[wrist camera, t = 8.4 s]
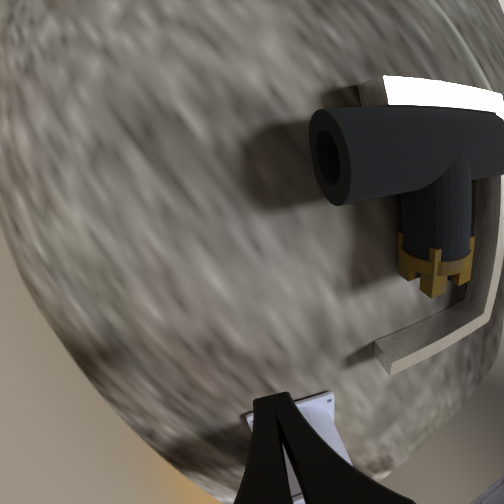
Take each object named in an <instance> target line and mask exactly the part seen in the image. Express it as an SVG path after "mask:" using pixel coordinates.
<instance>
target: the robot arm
mask: <svg viewBox="0 0 504 504" xmlns="http://www.w3.org/2000/svg"><path fill="white" fill-rule="evenodd" d="M246 420H247V422H248V425H249V427H250V429H251V432H252V437H251V444H250V450H249V455H248V459H247V464H246V468H245V472H244V475H243V479H242V482H241V485H240V488H239V491H238V493H237V496H236V498H235V501H234V504H416V503H415V502H414V501H413V500H411V499H409V498H407V497H404V496H402V495H400V494H398V493H396V492H394V491H392V490H390V489H388V488H386V487H384V486H382V485H381V484H379V483H377V482H376V481H374V480H372V479H371V478H369V477H368V476H366V475H365V474H363V473H362V472H360V471H359V470H357V469H356V468H355V467H353V465H352V463H351V461H350V458H349V456H348V454H347V452H346V449H345V447H344V445H343V443H342V440H341V438H340V436H339V434H338V431H337V429H336V427H335V425H334V394H333V392H326V393H323V394H320V395H317V396H313V397H310V398H307V399H304V400H300V401H297V402H294V401H293V399H292V398H291V396H290V393H289V392H282V393H278V394H274V395H270V396H266V397H261V398H257V399H254V400H253V413H250V414H248V415H247V416H246ZM470 504H504V475H502V476H501V477H500V478H499V479H498V480H497V481H496V482H495V483H494V484H492V486H490V487H489V488H488V489H487V490H486V491H485V492H484V493H483V494H481V495H480V496H479V497H478V498H476V499H475V500H474V501H473V502H471V503H470Z"/></svg>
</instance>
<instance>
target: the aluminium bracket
mask: <svg viewBox="0 0 504 504" xmlns="http://www.w3.org/2000/svg"><path fill="white" fill-rule="evenodd" d="M357 87H358V92H359V97H360V102H361V107H364V106H423V107H441V108H454V109H464V110H473V111H481V112H488V113H494V114H496V115H498V116H499V117H501V118H502V119H503V120H504V104H503V98H502V94H499V93H495V92H491V91H487V90H483V89H478V88H474V87H469V86H464V85H458V84H453V83H447V82H440V81H433V80H425V79H416V78H405V77H392V76H382V77H379V78H376V79H373V80H370V81H367V82H364V83H361V84H358V85H357ZM474 236H475V240H474V252H473V261H472V269H471V276H470V280H469V281H468V283H467V289H466V295H465V299H464V300H462V301H461V302H459V303H457V304H455V305H453V306H451V307H449V308H447V309H445V310H443V311H441V312H439V313H437V314H435V315H433V316H431V317H429V318H426V319H424V320H422V321H420V322H418V323H416V324H413V325H411V326H409V327H407V328H404V329H402V330H400V331H397V332H395V333H393V334H390V335H388V336H385V337H383V338H380V339H378V340H375V344H374V355H375V357H376V358H377V359H378V361H379V362H380V363H381V365H382V366H383V367H384V369H385V370H386V372H387V373H388V374H389V376H391V375H393V374H396V373H398V372H400V371H402V370H404V369H406V368H408V367H410V366H412V365H414V364H416V363H418V362H420V361H422V360H424V359H426V358H428V357H430V356H432V355H434V354H436V353H437V352H439V351H441V350H443V349H445V348H446V347H448V346H450V345H452V344H453V343H455V342H457V341H458V340H460V339H462V338H463V337H465V336H467V335H468V334H470V333H471V332H473V331H474V330H476V329H478V328H479V327H481V326H482V325H484V324H485V323H487V322H488V321H489V319H490V315H491V311H492V308H493V304H494V300H495V296H496V292H497V287H498V283H499V278H500V273H501V268H502V262H503V256H504V175H501V176H495V177H489V178H483V179H477V180H475V222H474Z"/></svg>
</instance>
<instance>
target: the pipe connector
mask: <svg viewBox="0 0 504 504" xmlns="http://www.w3.org/2000/svg"><path fill="white" fill-rule="evenodd" d="M309 142H310V148H311V154H312V160H313V166H314V172H315V176H316V178H317V181H318V184H319V186H320V188H321V190H322V192H323V194H324V195H325V197H326V198H327V199H328V201H329V202H330V203H332V204H333V205H336V206H341V205H345V204H350V203H355V202H360V201H365V200H370V199H375V198H380V197H385V196H390V195H395V194H400V193H401V209H402V231H400V232H398V274H399V275H400V276H402V277H403V278H404V279H406V280H407V281H411V280H413V279H416V278H419V277H420V289H419V290H421V291H422V292H423V293H425V294H426V295H427V296H429V297H430V298H431V299H432V298H434V297H436V296H438V295H440V294H443V293H445V292H446V285H447V279H448V280H450V281H451V282H453V283H454V284H456V285H458V286H459V285H461V284H463V283H466V282H468V281H469V280H470V276H471V269H472V261H473V252H474V240H475V236H472V235H471V212H472V188H471V180H477V179H483V178H489V177H495V176H501V175H504V120H503V119H502V118H501V117H499V116H498V115H496V114H494V113H488V112H481V111H473V110H464V109H454V108H441V107H423V106H364V107H344V108H331V109H320V110H317V111H316V112H315V113H314V114H313V116H312V118H311V121H310V126H309Z"/></svg>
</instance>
